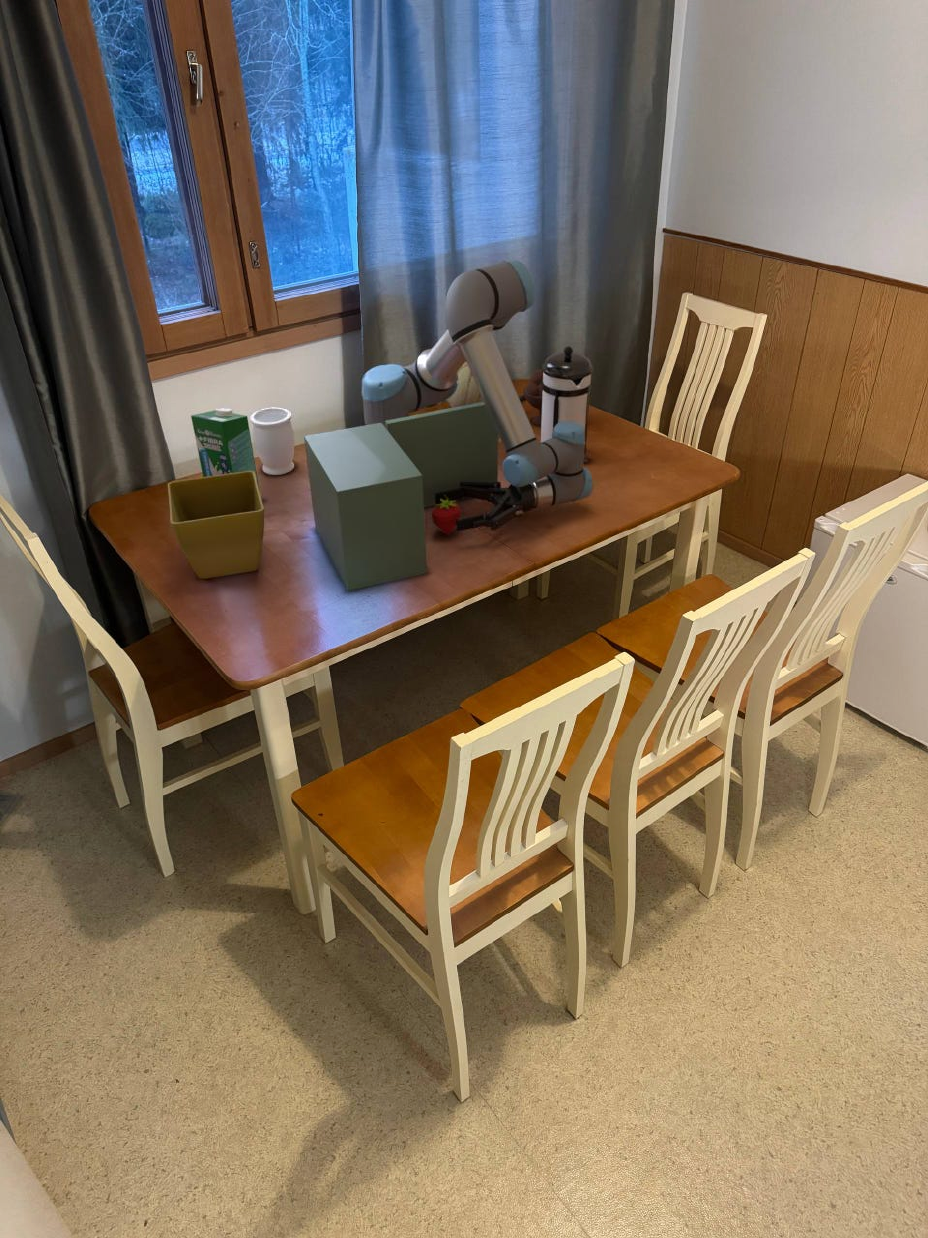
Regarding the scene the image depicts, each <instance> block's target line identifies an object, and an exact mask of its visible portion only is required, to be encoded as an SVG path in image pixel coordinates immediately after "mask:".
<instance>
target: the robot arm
mask: <svg viewBox="0 0 928 1238" xmlns="http://www.w3.org/2000/svg"><path fill="white" fill-rule="evenodd" d="M446 294H447V295H446V298H445V302H444V303H445V304H444V313H445V315H444V316H445V322H446V327H447V328H446V330H445V332H444V333H443V334H442V336H441V337H440V338H439V339H438V340H437V342H436V343H435V344H434V345H433V347H432V348H428V349H425V350H423V351H422V352H421V353H420V354H419V355H418V357H416V359H415V361H413V362H412V364H409V365H406V366H402V365H400V364H396V363H388V364H380V365H377V366H374V367H372V368H370V369H369V370H367V371H366V372H365V373H364V375H363V376H362V379H361V396H362V405H363V417H364V426H365V425H371V424H376V423H382V424H383V425H384V427H385V421H387V420H392V419H397V418H402V417H408V416H410V414H411V413H414V412H416V411H419V410H422V409H425V408H428V407H430V406H433V405H435V404H440V403H443V402H445V401H447V399H448V398H450V397H451V396H452V395H453V394H454V393H455V391H456V389H457V387H458V383H457V381H458V372H457V371H458V370H459V369H460V368H461V367H462V365H463V364H464V363H465V362H467V364H468V366H469V368H470V371H471V373H472V375H473V378H474V380H475V382H476V384H477V387H478V389H479V391H480V394H481V396H482V398H483V400H484V403H485V405H486V407H487V409H488V412H489V414H490V416H491V419H492V421H493V423H494V425H495V428H496V430H497V432H498V438H499V439H500V441H501V443H502V446H503V448H504V450H505V453H506V455H507V457H506V458H504V460H503V461H502V469H503V471H502V474H503V476H504V478H505V480H506V481H507V482H508V483H509V486H508V487H502V482H501V481H498V482H491V483H490V482H460V488H457V489H452V490H448V491H443V492H438V493H435V503H436V504H441V503H442V502H441V500H440V499H443V500H448V499H449V501H455V502H457V501H462V500H464V499H463V497H466V498H465V499H467V498H468V499H474V500H481V501H486V502H487V503H488V504H491V505H493V506H494V507H493V508H492V509H491V510H490V511H489V512H488V513H487V512H486V513H484V514H483V513H481V514H478V515H472V516H468V517H463V518H460V519H458V520H456V526H455V527H456V529H455V530H456V532H458V533H460V532H462V531H468V530H472V529H479V528H483V527H485V528H490V530H491V531H496V530H498V529H500V528H501V527H503V526H505V525H506V524H508V523H510V522H512V521H513V520H515V519H518V518H521V517H523V513H525V512H531V511H532V510H539V509H543V508H546V507H551V506H556V505H562V504H567V503H574V502H575V503H576V502H577V501H581V500H584V499H586V498H589V497H590V496H591V495H592V493H593V489H594V484H593V477H592V474H591V472H590V471H589V469H587V468H586V467H584V463H585V462H584V458H585V454H584V449H585V444H586V445H587V442H586V443H585V429H584V427H583V426H582V425H580V424H577V423H575V422H561V423H558V424H556V426H555V427H554V428H553V433H552V438H551V439H549V440H546V441H544V442H542V443H541V442H539V441H538V439H537V437H536V435H535V433H534V430H533V428H532V424H531V422H530V421H529V418H528V415H527V414H526V411H525V409H524V406H523V404H522V402H521V401H522V400H524V399H526V398H525V396H524V394H522V395H521V396H519V395H518V393H517V389H516V387H515V385H514V383H513V380H512V378H511V375H510V373H509V371H508V369H507V367H506V363H505V362H504V360H503V357H502V354H501V353H500V350H499V348H498V346H497V343H496V341H495V339H494V336H493V333H492V332H493V331H494V332H495V331H499V330H502V329H503V328H504V327H505V326H506V325H507V324H508V323H509V322H510V321H511V319H512V318H513V317H514V316H515V315H517V314H518V313H523V312H525V311H527V310H529V309H530V308H531V307H532V306H533V304H534V303H535V298H536V284H535V280H534V277H533V274H532V273H531V271H530V269H529V268H528V267H527V265H526V264H524V262H522V261H520V260H518V259H509V260H506V259H504V260H502V261H501V262H498V263H494V264H491V265H487V266H483V267H479V268H475V269H470V270H467V271H464V272H462V273H460V274H459V275H458V276H457V277H456V278H454V280H453V281H452V283H451V284H450V286H449V288H448V291H447V293H446ZM385 428H386V427H385ZM446 497H447V498H448V499H447V498H446Z"/></svg>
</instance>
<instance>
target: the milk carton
mask: <svg viewBox="0 0 928 1238" xmlns="http://www.w3.org/2000/svg"><path fill="white" fill-rule="evenodd" d="M190 418H191V423H192V428H193V434H194V438H195V442H196V448H197V452H198V457H199V462H200V463H199V464H200V468H201V472H202V473H201V474H202V477H209V476H216V475H223V474H230V473H238V472H244V471H254V472H255V475H256V480H257V484H258V488H259V489H260V485H259V478H258V474H257V467H256V462H255V461H256V460H255V455H254V450H253V449H254V448H253V443H252V436H251V430H250V425H249V419H248V415H243V414H240V413H239V414H238V413H233V409H232V408H228V407H217V408H214V410H210V411H206V412H202V413H197V414H196V413H195V414H192V415H190ZM259 492H260V493H261V491H260V490H259Z"/></svg>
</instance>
